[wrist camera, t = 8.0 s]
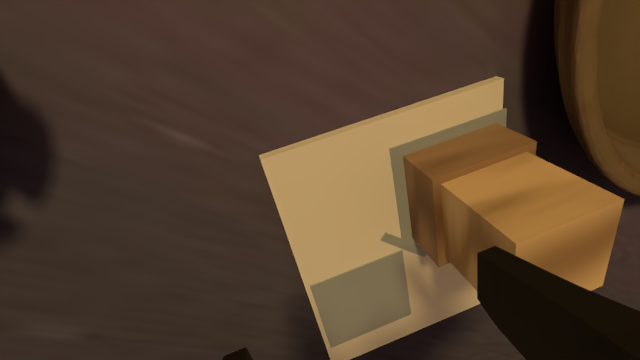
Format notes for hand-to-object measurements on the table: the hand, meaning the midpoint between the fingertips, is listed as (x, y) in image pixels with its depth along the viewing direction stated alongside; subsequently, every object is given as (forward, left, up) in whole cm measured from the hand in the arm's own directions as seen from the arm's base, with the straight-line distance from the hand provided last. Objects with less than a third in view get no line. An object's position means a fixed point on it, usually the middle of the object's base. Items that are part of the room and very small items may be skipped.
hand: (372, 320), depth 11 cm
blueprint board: (-8, -6, -10) cm, 14 cm away
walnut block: (-4, -9, -10) cm, 14 cm away
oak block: (-4, -9, -7) cm, 12 cm away
